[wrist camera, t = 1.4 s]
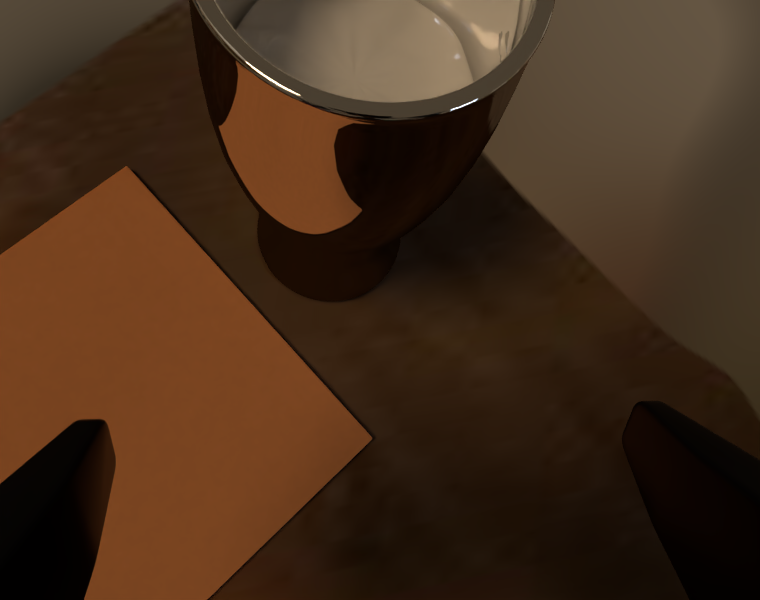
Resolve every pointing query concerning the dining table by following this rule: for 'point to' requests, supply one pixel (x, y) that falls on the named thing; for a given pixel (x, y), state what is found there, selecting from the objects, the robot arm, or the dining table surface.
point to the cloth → (161, 392)
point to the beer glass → (355, 118)
